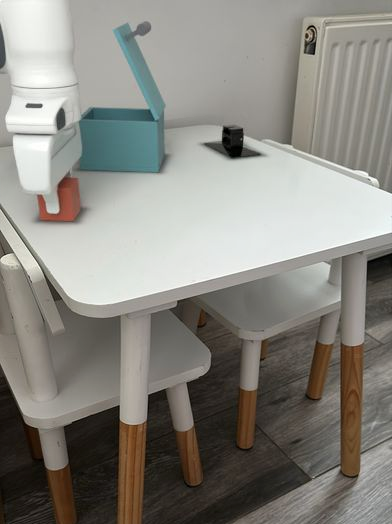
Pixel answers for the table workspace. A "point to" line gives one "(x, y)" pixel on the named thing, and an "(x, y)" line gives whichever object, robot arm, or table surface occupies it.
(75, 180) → the red cube
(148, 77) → the freezer lid
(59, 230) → the table surface
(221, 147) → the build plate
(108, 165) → the box
